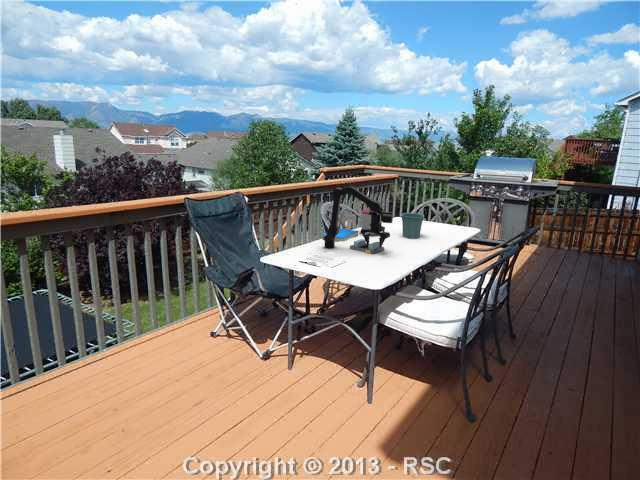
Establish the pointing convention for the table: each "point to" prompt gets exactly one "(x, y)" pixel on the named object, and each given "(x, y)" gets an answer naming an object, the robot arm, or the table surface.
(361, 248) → the rack
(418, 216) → the flower pot
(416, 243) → the table surface
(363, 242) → the fitted panel
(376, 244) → the panel
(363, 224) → the grey plant pot
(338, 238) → the book
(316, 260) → the tray
